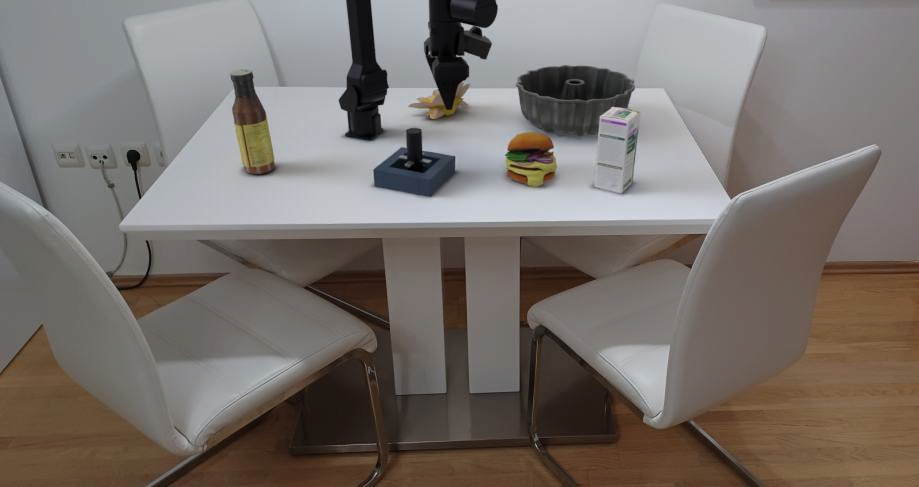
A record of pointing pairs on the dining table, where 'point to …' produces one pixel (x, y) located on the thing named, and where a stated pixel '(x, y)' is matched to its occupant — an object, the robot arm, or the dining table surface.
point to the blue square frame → (414, 173)
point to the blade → (414, 151)
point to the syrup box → (616, 149)
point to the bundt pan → (571, 97)
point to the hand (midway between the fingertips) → (445, 101)
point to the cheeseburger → (531, 159)
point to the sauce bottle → (251, 125)
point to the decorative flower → (441, 103)
